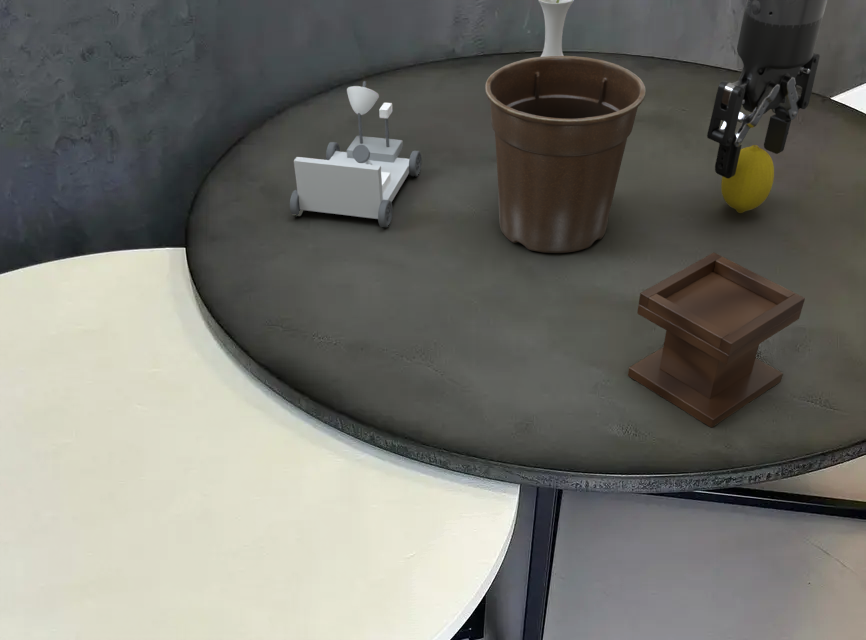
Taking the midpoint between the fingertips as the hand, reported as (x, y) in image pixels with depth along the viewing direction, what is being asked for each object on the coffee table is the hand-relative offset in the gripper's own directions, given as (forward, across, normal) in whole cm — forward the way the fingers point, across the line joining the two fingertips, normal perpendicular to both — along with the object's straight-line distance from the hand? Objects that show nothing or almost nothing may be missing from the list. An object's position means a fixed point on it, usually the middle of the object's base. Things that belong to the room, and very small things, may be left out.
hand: (749, 162), depth 109 cm
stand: (+6, -27, -17) cm, 32 cm away
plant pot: (+6, -18, +12) cm, 22 cm away
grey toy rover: (+7, -29, +34) cm, 45 cm away
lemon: (+6, 0, 0) cm, 6 cm away
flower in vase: (+6, +4, +35) cm, 36 cm away
